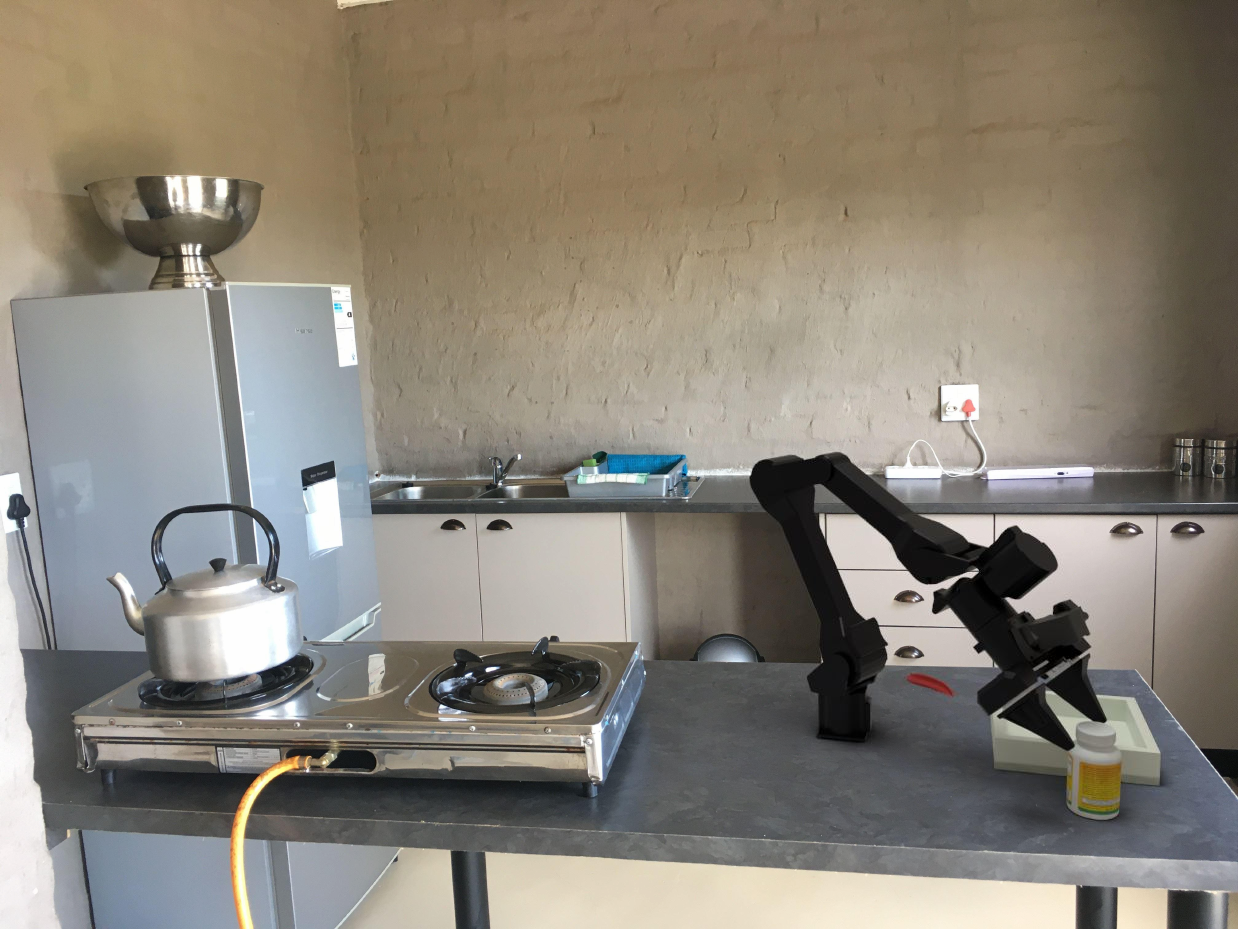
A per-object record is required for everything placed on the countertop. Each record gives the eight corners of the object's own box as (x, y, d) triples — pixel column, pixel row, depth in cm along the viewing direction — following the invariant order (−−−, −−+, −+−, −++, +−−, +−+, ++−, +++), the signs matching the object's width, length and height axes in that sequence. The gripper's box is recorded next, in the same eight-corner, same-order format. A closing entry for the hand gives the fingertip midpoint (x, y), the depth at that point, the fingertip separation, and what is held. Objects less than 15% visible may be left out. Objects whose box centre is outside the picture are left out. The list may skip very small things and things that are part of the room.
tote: (994, 768, 120) (995, 737, 120) (989, 713, 137) (990, 686, 137) (1159, 786, 115) (1160, 753, 114) (1133, 726, 131) (1134, 697, 131)
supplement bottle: (1055, 803, 111) (1057, 723, 110) (1092, 794, 113) (1094, 715, 112) (1093, 825, 106) (1096, 741, 105) (1131, 815, 108) (1134, 732, 107)
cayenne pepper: (898, 675, 155) (898, 664, 154) (926, 673, 155) (926, 662, 155) (931, 704, 143) (931, 691, 143) (961, 701, 143) (961, 689, 143)
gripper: (1005, 599, 104) (1112, 725, 98) (1074, 566, 117) (1173, 675, 111) (936, 656, 111) (1032, 777, 105) (1009, 618, 124) (1099, 724, 117)
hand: (1088, 735), depth 109 cm, fingers open, 9 cm apart
